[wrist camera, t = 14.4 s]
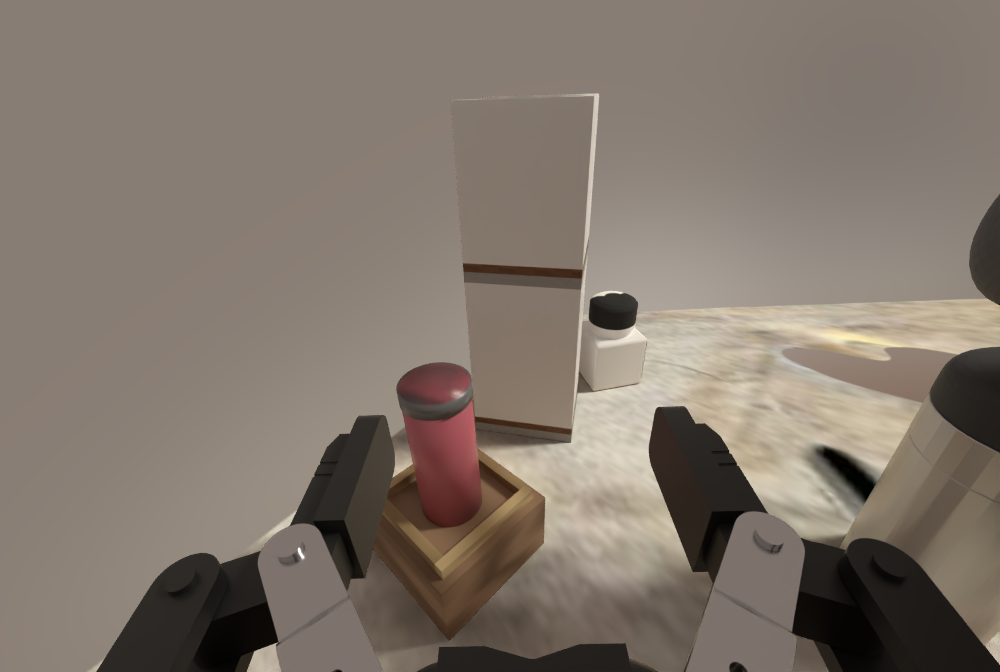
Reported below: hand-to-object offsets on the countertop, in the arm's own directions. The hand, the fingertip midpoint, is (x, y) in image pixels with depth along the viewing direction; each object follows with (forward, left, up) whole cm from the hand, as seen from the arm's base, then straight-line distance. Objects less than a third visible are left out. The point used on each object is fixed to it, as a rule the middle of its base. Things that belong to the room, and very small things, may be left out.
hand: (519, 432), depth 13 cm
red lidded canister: (-7, -14, -21) cm, 26 cm away
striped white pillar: (-26, -22, -27) cm, 43 cm away
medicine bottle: (-39, -19, -27) cm, 51 cm away
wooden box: (-7, -14, -27) cm, 31 cm away
